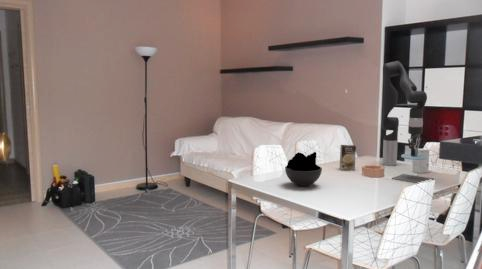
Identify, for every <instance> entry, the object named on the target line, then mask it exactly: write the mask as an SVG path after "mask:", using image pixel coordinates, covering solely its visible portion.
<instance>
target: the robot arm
mask: <svg viewBox="0 0 482 269" xmlns="http://www.w3.org/2000/svg"><path fill="white" fill-rule="evenodd" d="M397 76H400V80H399V86H400V88H401V90H402V91H403V92H404V94H405V96H406V101H407V102H408V103H410V104H416V106H413V107H411V108H410V109H409V114H408V115H409V118H408V126H407V127H408V128H407V129H408V130H407V133H408V134H409V135H410V138H408V140H407V143H408V148H409V149H410V154H411V155H412V156H415V147H417V148H418V149H420V146H421V144H422V143H421V142H422V136H420V135H422V134H423V128H424V127H423V125H424V121H423V120H424V118H423V117H424V116H423V115H424V109H425V105H426V103H427V99H428V95H427V92H425V91H424V90H418V87H417V85H416V84H415V83H414V82H413V81H412V79H411V78H410V76H409V75H408V73H407V71H406V68H405V67H404V65H403V63H401V61H400V60H395V61H391V62H387V63H386V62H385V63H384V64H383V66H382V79H383V80H382V81H383V93H382V105H383V106H382V118H381V128H382V130H384V131H392V132H391V133H389V134H385V135H384V136H383V144H382V165H385V166H397V164H398V163H397V161H398V160H397V159H398V141H399V140H398V137H399V136H398V134H399V123H400V121H399V117H396V116H389V115H390V113H391V112H392V110H393V109H394V108H395V107H396V106H397V104H398V100H399V92H398V90H397V89H396V88H395V86H394V85H393V83H392V82H391V78H392V77H397ZM418 149H417V154H418Z"/></svg>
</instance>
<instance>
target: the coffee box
mask: <svg viewBox="0 0 482 269" xmlns="http://www.w3.org/2000/svg"><path fill="white" fill-rule="evenodd" d="M339 149H340V152H339V153H340V154H339V170H340V171H351V170H352V171H353V172H355V171H356V151H357V145H354V144H340V148H339Z"/></svg>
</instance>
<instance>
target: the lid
mask: <svg viewBox="0 0 482 269" xmlns="http://www.w3.org/2000/svg"><path fill="white" fill-rule="evenodd" d="M417 149H419V148H417V147H415V156H412V155H411V153H403V154H401V156H400V158H402V159H406V160H412V161H413V160H425V159H427V156H425V155H420V154H417Z"/></svg>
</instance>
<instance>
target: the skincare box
mask: <svg viewBox="0 0 482 269" xmlns="http://www.w3.org/2000/svg"><path fill="white" fill-rule="evenodd" d="M418 154H420V155H425V156H427V159H425V160H412V166H411V167H412V168H411V169H412V172H414V173H417V174H423V173H429V165H430V163H429V162H430V149H429V148H418Z"/></svg>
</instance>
